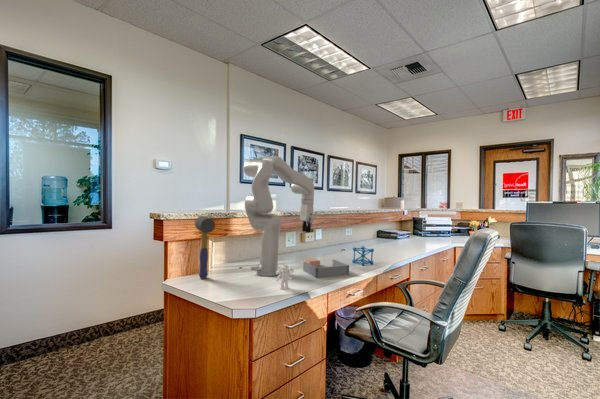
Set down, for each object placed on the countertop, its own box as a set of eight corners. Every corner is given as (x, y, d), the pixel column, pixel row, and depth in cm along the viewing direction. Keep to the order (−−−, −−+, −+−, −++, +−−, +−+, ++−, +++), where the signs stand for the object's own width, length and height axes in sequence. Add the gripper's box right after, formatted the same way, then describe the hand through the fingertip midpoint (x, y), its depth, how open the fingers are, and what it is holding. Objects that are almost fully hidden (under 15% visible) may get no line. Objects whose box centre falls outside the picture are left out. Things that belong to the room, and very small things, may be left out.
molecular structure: (362, 261, 200) (362, 245, 199) (374, 264, 192) (374, 248, 191) (351, 262, 194) (351, 247, 194) (363, 266, 186) (363, 249, 185)
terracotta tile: (309, 268, 177) (309, 261, 177) (304, 265, 183) (304, 258, 183) (320, 267, 180) (320, 260, 179) (314, 264, 186) (315, 258, 186)
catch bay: (316, 277, 156) (316, 268, 156) (303, 270, 170) (303, 261, 170) (348, 274, 165) (349, 265, 165) (333, 267, 179) (334, 259, 178)
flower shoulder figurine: (278, 291, 133) (279, 264, 133) (273, 288, 136) (274, 262, 136) (294, 287, 139) (295, 261, 139) (289, 285, 142) (290, 259, 142)
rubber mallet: (214, 280, 146) (216, 217, 145) (198, 282, 142) (200, 217, 141) (207, 274, 156) (209, 215, 156) (192, 275, 152) (193, 215, 152)
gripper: (296, 201, 194) (295, 230, 195) (308, 202, 179) (307, 233, 180) (306, 201, 198) (305, 230, 198) (319, 203, 183) (318, 233, 183)
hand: (306, 231), depth 189 cm, fingers open, 3 cm apart
